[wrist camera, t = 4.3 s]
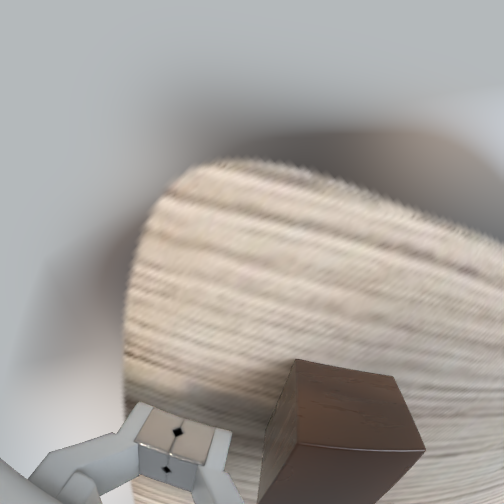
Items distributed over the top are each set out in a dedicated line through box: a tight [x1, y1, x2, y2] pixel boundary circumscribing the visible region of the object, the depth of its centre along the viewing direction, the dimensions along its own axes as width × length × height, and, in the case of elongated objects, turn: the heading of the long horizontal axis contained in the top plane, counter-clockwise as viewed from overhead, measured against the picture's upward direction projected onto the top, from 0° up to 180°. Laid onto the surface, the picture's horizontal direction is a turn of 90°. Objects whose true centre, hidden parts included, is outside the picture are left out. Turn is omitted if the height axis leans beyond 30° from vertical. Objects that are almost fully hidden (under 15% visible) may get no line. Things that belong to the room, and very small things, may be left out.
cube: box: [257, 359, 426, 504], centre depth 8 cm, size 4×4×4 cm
